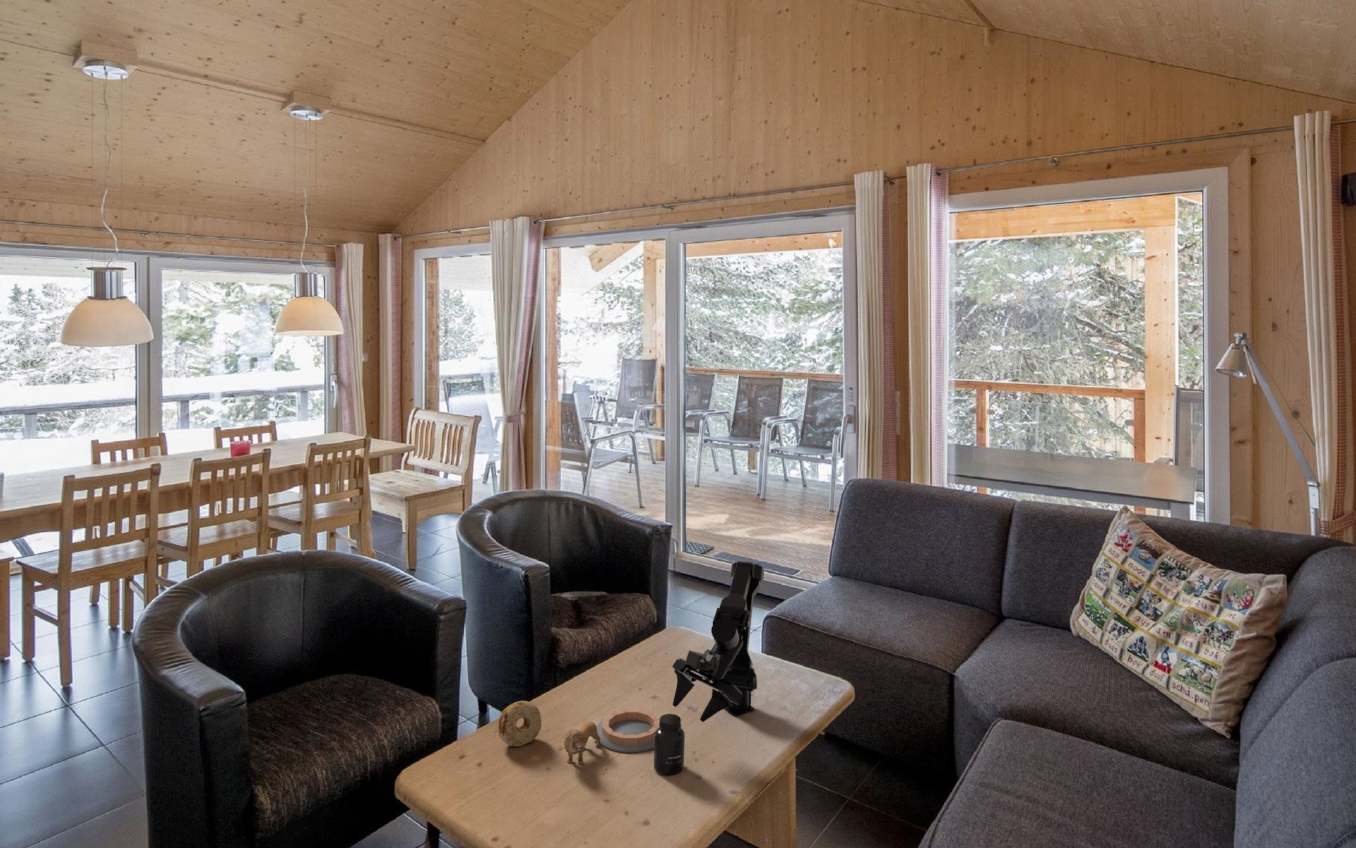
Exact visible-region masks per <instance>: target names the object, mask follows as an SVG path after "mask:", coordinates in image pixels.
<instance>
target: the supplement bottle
mask: <svg viewBox="0 0 1356 848" xmlns="http://www.w3.org/2000/svg"><path fill="white" fill-rule="evenodd" d="M659 719H660V723H659V728H657V730H656V731H655V741H654V749H653V768H654V770H655V771H656V773H658V774H659V775H661V776H666V777H673V776H676V775H679V774H682V773H681V772H683V771H684V768H685V767H684V766H685V739H686V737H685V736H686V734H685V731H684V729H683V728H682V723H681V722H682V719H681V717H680V716H679V715H677V714H674V713H665V714H662V715H660V717H659Z"/></svg>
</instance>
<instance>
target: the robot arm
mask: <svg viewBox="0 0 1356 848" xmlns="http://www.w3.org/2000/svg"><path fill="white" fill-rule="evenodd" d="M730 568H731V569H730V578H731V585H730V588H729V591H728V594H727V596H725V597H724V598H722V599H721V601H720V604H719V607H717V608H716V611H715V614H714V616H713V619H712V626H711V628H710V631H711V636H712V638H713V640H714V644H713V646H712V648H711V650H710V649H708V648H707V649H706V650H705V651H704V653H702V652H697V651H695V650H694V651H693V650H690V649H689V650H688V651H687V655H686V659H683V658H680V657H679V658H677V659H676V660H675V661H674V663H673V664H672V666H671V667H672V668H673V669H674V670H673V671H674V672H673V673H674V674H675V675H676V688H675V691H674V696H673V702H672V706H673V707H675V708H676V707H677V706H679V705H680V704H681V702H682V701H683V700H685V698H686V696H687V695H688V694H689V693H690V692H691V691H692V689H694V687H695V684H694V682H696V681H698V682H701V683H702V684H705V685H707V686H709V687H710V688H712V690H711V698H710V699H709V701H708V702H707V705H706V706H705V708H704V710H703V712H702V713H701V715H700V718H699V721H700V722H702V723H704V722H706V721H707V720H708V719H710V718H712V717H713V716H714V715H716V714H717V713H719V712H720V711H722V710H725V711H727V712H728V713H730V714H731V715H733V716H734V717H737V716H741V715H744V714H746V713H750V712H753V711H755V707H754V706H752V693H753V692H754V690H757V688H758V678H757V673H756V671H755V668H754V663H753V660H752V658H751V656H750V653H749V646H750V645H749V644H750V636H751V625H752V614H753V607H754V606H753V605H754V598H755V596H756V595H757V594H758V592H759V591H760V590H761V586H762V582H764V579H765V568H764V567H763V566H761V564H760V563H753V562H752V561H751V562H750V561H741V560H740V561H739V560H738V561H735V562H733V563H731V567H730Z"/></svg>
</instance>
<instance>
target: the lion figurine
mask: <svg viewBox="0 0 1356 848" xmlns="http://www.w3.org/2000/svg"><path fill="white" fill-rule="evenodd" d="M596 726H597V725H596V723H595V722H594V721H589V722H585V723H584V724H582V726H581V727H580V728H579V729H576V728H575V729H574V728H572V729H570V730H568V731H567V732H566V734H565V736H564V741H563V743H564V744H563V746H564V750H565V751H566V752H567V754H568V759H566V763H568V764H571V763H572V762H573V759H574V755H577V754H578V758H577V764H578V765H584V759H583V758H584V757H583V755H584V750H585V749H586V746H587V744H588V741H589V738H590V737H591V738H592V740H595V741H596V740H597V741H596V743H595V747H596V748H600V747H601V742H600V736H598V733H597V727H596Z"/></svg>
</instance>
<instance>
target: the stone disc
mask: <svg viewBox="0 0 1356 848" xmlns="http://www.w3.org/2000/svg"><path fill="white" fill-rule="evenodd" d="M499 715H500V716H499V718H498V728H497V729H498V735H499V738H500V739H501V741H503V743H505V744H506V745H508V746H510V747H521V746H524V745H527V744H529V743H532V741H535V739H536V738H537V736H539V734H540V732H541V729H542V717H541V716H542V715H541V712H540V709H539V708H538V707H537V705H536V704H534V703H533V702H530V701H527V700H519V701H516V702H513V703H511V704H509V705H508V706H507V707H505V708H504V709H503V710H502V712H501V713H500V714H499ZM521 719H523V722H522V724H521V725H520V726H517V723H518V721H520V720H521Z"/></svg>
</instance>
